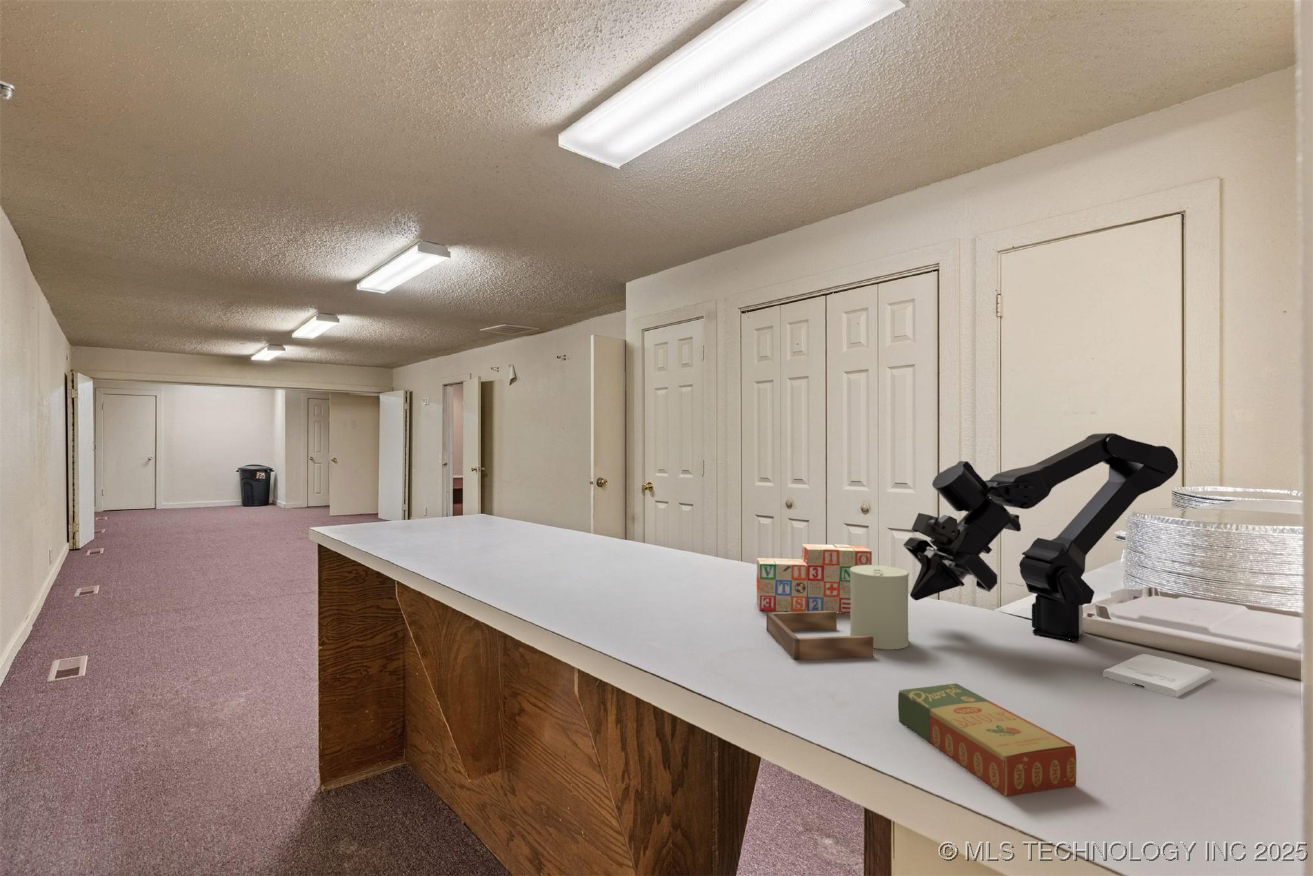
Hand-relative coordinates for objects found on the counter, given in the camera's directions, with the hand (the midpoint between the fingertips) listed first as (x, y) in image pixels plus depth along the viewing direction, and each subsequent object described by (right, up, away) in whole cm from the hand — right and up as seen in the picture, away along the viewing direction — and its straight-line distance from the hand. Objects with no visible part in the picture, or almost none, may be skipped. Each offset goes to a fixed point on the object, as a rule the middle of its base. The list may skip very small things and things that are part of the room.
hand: (912, 598), depth 100 cm
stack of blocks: (-12, -7, +19) cm, 23 cm away
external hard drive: (+27, -7, -16) cm, 32 cm away
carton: (-8, -7, -36) cm, 38 cm away
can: (-6, -7, -1) cm, 9 cm away
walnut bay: (-16, -7, -2) cm, 17 cm away
